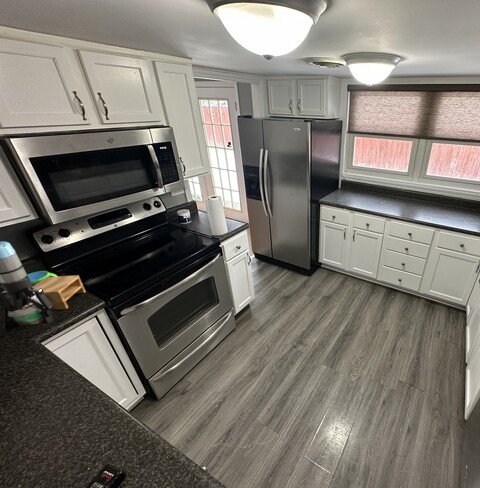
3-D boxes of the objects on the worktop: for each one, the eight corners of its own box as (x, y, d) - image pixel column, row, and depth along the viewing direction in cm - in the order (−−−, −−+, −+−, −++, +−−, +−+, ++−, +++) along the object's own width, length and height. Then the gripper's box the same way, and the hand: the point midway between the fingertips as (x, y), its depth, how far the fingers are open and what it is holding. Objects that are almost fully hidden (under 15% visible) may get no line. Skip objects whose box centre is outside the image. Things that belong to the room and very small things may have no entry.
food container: (27, 334, 110) (15, 315, 105) (17, 330, 111) (6, 312, 107) (61, 315, 120) (52, 297, 116) (52, 312, 122) (43, 295, 118)
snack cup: (17, 303, 127) (6, 285, 123) (25, 291, 135) (16, 275, 131) (60, 294, 134) (51, 277, 130) (65, 284, 142) (58, 267, 138)
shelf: (32, 311, 122) (22, 293, 118) (54, 293, 135) (46, 277, 130) (66, 308, 124) (58, 291, 120) (85, 291, 137) (78, 275, 133)
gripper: (50, 272, 111) (71, 314, 121) (-7, 275, 107) (19, 318, 117) (36, 282, 104) (59, 326, 114) (-26, 286, 101) (4, 331, 111)
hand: (39, 322), depth 116 cm, fingers open, 7 cm apart
